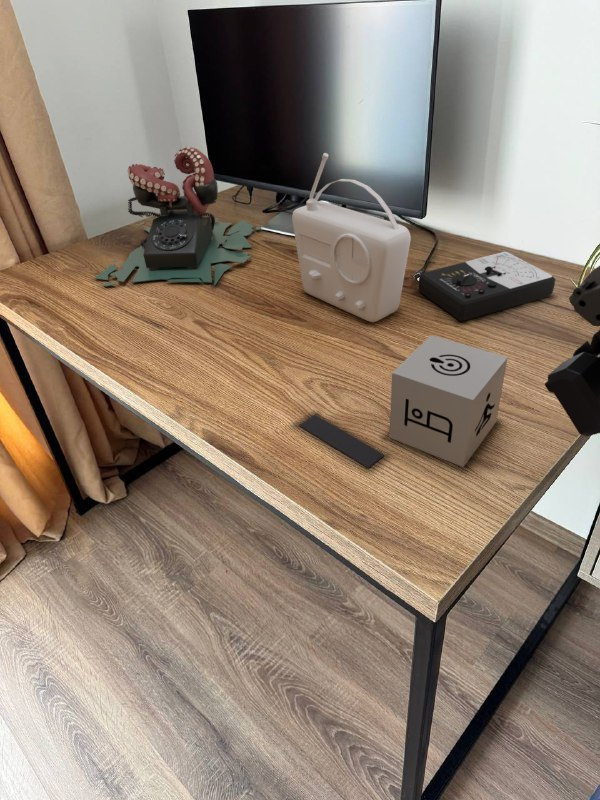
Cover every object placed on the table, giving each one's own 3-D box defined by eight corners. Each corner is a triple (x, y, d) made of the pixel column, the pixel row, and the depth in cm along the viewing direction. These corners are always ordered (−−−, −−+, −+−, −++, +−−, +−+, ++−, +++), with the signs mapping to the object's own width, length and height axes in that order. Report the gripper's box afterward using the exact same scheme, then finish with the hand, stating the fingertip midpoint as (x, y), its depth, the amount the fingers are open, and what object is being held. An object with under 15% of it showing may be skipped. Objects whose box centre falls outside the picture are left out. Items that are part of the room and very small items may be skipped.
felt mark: (384, 456, 72) (384, 454, 72) (368, 468, 70) (368, 467, 70) (315, 415, 79) (314, 414, 79) (299, 426, 78) (299, 425, 77)
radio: (288, 292, 109) (277, 151, 94) (321, 277, 113) (315, 140, 98) (376, 333, 95) (379, 175, 80) (409, 315, 99) (418, 161, 84)
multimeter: (416, 292, 106) (418, 266, 103) (503, 268, 111) (507, 243, 108) (460, 323, 96) (463, 296, 93) (553, 296, 101) (559, 269, 98)
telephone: (137, 224, 143) (117, 136, 131) (265, 220, 140) (256, 129, 128) (86, 289, 115) (55, 185, 103) (244, 285, 112) (231, 178, 100)
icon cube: (389, 437, 75) (391, 372, 69) (425, 397, 81) (431, 334, 75) (463, 467, 70) (473, 400, 63) (496, 422, 76) (507, 357, 70)
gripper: (692, 211, 52) (551, 289, 66) (598, 284, 43) (454, 358, 56) (758, 317, 52) (604, 373, 66) (680, 414, 43) (517, 457, 56)
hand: (548, 386), depth 61 cm, fingers closed
